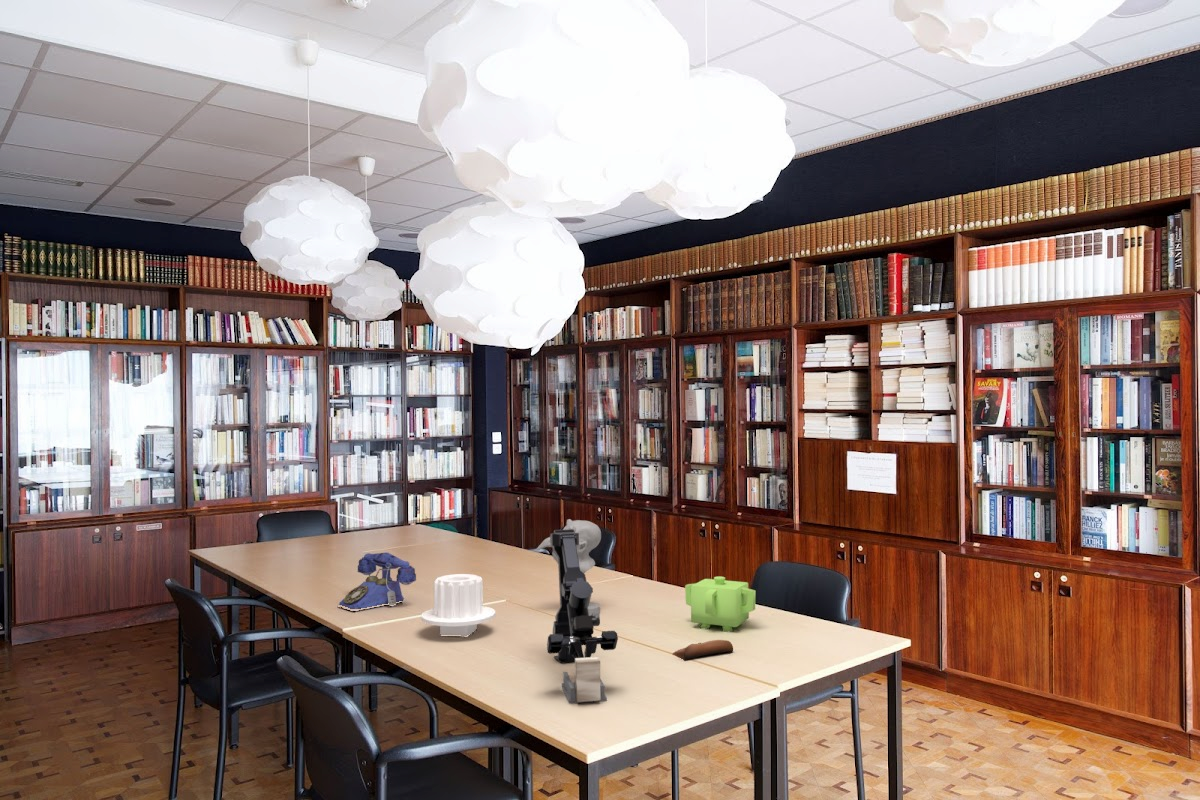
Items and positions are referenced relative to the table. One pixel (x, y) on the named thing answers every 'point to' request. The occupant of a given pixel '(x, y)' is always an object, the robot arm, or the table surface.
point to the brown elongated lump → (704, 649)
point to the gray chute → (570, 689)
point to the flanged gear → (458, 605)
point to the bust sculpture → (582, 548)
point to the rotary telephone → (379, 582)
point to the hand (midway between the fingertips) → (586, 670)
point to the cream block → (587, 679)
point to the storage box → (720, 602)
